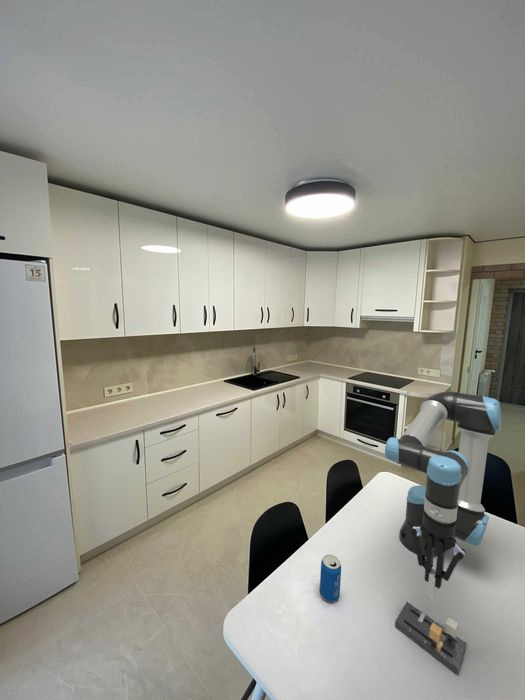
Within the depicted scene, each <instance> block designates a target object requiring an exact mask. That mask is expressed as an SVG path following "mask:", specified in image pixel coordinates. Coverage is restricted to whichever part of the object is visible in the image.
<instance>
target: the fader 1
mask: <svg viewBox="0 0 525 700" xmlns="http://www.w3.org/2000/svg"><path fill="white" fill-rule="evenodd" d="M429 637H430V638H432V643H433V644H434V645H435V646H436V645H437V643H438V644H439V642H440V640H441V637H442V628H440V627H439V626H437V625H436V624H434V623H432V625H431V627H430V633H429Z"/></svg>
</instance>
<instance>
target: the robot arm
mask: <svg viewBox="0 0 525 700" xmlns="http://www.w3.org/2000/svg"><path fill="white" fill-rule="evenodd" d="M445 421H452V422H454V423H455V422H456V423H457V425H456V426H457V427H456V428H457V429H458V430H459V431H460V438H459V439H460V440H459V447H458V451H456V450H446V451H440V450H436V449H433V448H430V447H427V445H428V443H429V441H430V440H431V439H432V437H433V436H434V434H435V432H436V430H437V428H438V427H439V425H440V424H441V423H443V422H445ZM501 430H502V409H501V404H500V401H498V399H495V398H491V397H487V396H485V395H477V394H476V395H475V394H469V393H464V392H463V393H462V392H457V391H442V392H438V393H435V394H433V395H431V396H428V397H427V398H426V399H424V400H423V402H422V403H421V405H420V407H419V412H418V414H417V415H416V416H415V418H414V419H413V420H412V422H411V423H410V425H409V426H408V427H407V428H406V429H405V431H404V432H403V434H402V436H401V437H400V438H398V437H389V438H388V439H387V440H386V443H385V447H384V455H385V456H384V457H385V458H386V459H387V460H389V461H391V462H394V463H396V464H397V465H401V466H405V467H407V468H411V469H413V470H416V471H420V472H421V473H424V474H426V481H425V482H426V483H425V485H413V486H411V487H410V488H409V489H408V491H407V496H406V507H405V508H406V509H405V520H404V522H403V523H402V525H401V527H400V529H399V536H398V537H399V540H400V542H401V544H402V545H403V546H404V547H405V548H406V549H407V550H409V551H410V552H412V553H413V554H416V557H417V563H418V565H419V566H420V567H422V568H423V569H424V581H425V582H426V583H427V594H426V596H427V597H429V598H431V599H432V600H433V599H434V598H435V596H436V595H437V589H439V590H440V588H441V587H442V585H443V584H442V582H443V580H444V581H446V582H448V581H449V580H450V578H451V575H452V574H453V573H454V570H455V568H456V567H457V564H458V562H459V561H461V560H462V559H464V557H465V555H466V550H465V549H464V548H461V547H460V546H459V545H458V544H457V540H456V539H458V540H461V541H463V542H464V543H468V544H470V545H472V546H475V547H477V546H480V545H481V544H482V541H483V538H484V535H485V532H486V529H487V525H488V524H489V519H490V517H489V515H487V513H486V514H485V511H486V509H485V507H484V506H483V504H481V501H482V493H483V486H484V479H485V478H484V477H485V471H486V463H487V456H488V448H489V440H490V439H491V438H493V437H495V435H496V432H497V433H498V432H501ZM451 549H453V551H452V553H453V557H452V559H451V560H450V562H449V564H448V566H447V568H446V570H444V567H445V560H446V559H445V556H446V552H448V551H450V550H451ZM434 557H436V565H435V566H436V567H435V569H434V568H433V567H434Z"/></svg>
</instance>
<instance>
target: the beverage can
mask: <svg viewBox="0 0 525 700" xmlns="http://www.w3.org/2000/svg"><path fill="white" fill-rule="evenodd" d="M322 557H323V558H322V559H321V561H320V579H319V594H320V595H321V597H322V599H324V600H325V601H327V602H330V603H334V602H337V601H338V600H339V599H340V594H341V593H340V591H341V579H342V564H341V561H340V559H339V558H338V557H337V556H336V555H334V554H330V553H329V554H326V555H323V556H322Z"/></svg>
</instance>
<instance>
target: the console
mask: <svg viewBox="0 0 525 700" xmlns="http://www.w3.org/2000/svg"><path fill="white" fill-rule="evenodd" d="M394 622H395V623H394V628H396V629H397V630H398V631H399V632H401V633H402V634H404V635H405V636H406V637H407V638H409V639H410V640H411V641H412V642H414V643H415V644H417V646H419V647H420V648H421V649H423V650H424V651H426V652H427V653H428V654H429V655H430V656H432V657H433V658H434V659H435V660H437V661H438V662H439V663H440V664H442V665H443V666H444V667H446V668H447V669H449V671H451V672H453V673H454V674H455V675H456V676H459V672H460V670H461V667H462V663H463V660H464V657H465V653H466V651H467V646H468V645H467V642H466V641H465V640H463V639H462V638H460V637H459V636H458V635H456V636H455V638H454V637H453V639H452V640H451V639H449V638H448V633H447V632H445V627H444V626H443V625H442V624H440V623H439V622H437V621H436V620H434V619H433V618H431V617H430V616H429V615H427V614H425V613H424V612H423V611H422V610H420V609H419V608H417V607H416V606H414V604H413V605H412V604H411V603H410V602H409V601H406V602H405V604H404V605H403V608H402V609H401V611H400V612H399V614H398V615H397V618H396V619H395V621H394ZM432 623H434V624H436V625H437V626H439V627H440V628H442V637H441V640H440V642H439V644H438V643H437V645H436V646H435V645H434V644H433V643H432V638H430V637H429V633H430V627H431V625H432Z"/></svg>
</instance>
